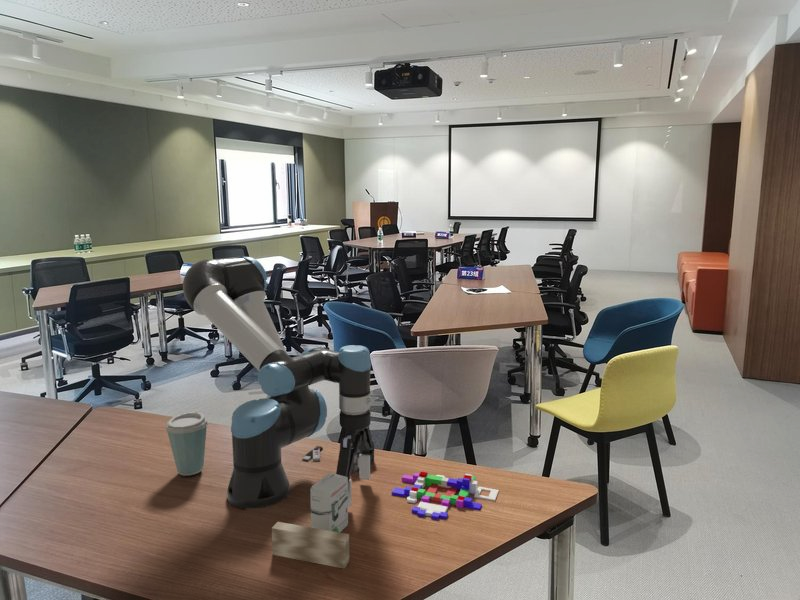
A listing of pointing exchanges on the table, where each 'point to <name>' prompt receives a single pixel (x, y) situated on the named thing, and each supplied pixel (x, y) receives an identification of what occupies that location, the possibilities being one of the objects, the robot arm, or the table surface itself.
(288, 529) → the board
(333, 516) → the ink box
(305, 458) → the usb flash drive
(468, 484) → the building block set
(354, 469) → the mini dv tape
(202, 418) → the disposable coffee cup
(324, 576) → the table surface
